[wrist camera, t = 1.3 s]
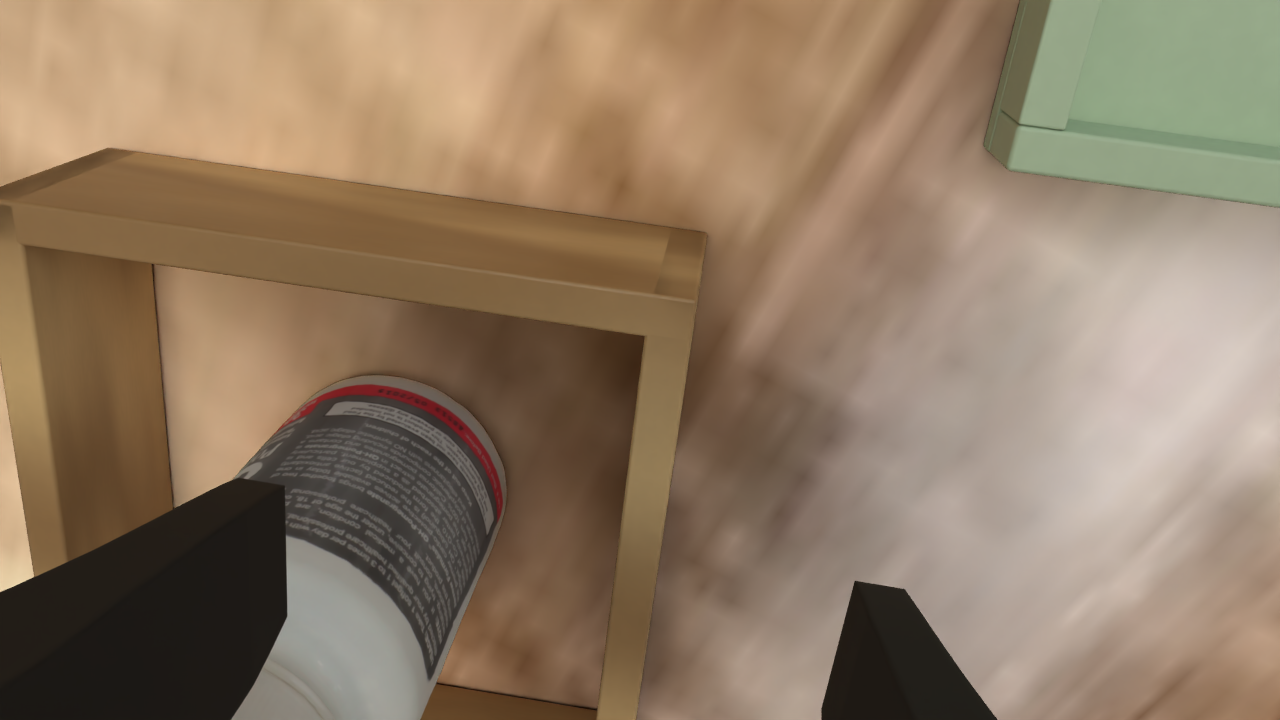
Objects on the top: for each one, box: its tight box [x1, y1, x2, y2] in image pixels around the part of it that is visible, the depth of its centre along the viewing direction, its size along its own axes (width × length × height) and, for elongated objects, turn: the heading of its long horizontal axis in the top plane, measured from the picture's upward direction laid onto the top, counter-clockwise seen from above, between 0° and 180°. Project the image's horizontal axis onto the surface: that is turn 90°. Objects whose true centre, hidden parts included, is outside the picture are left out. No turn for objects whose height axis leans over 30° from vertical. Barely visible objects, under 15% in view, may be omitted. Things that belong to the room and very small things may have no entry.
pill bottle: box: [231, 375, 507, 720], centre depth 19 cm, size 5×5×10 cm
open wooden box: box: [0, 148, 707, 720], centre depth 22 cm, size 14×13×4 cm
